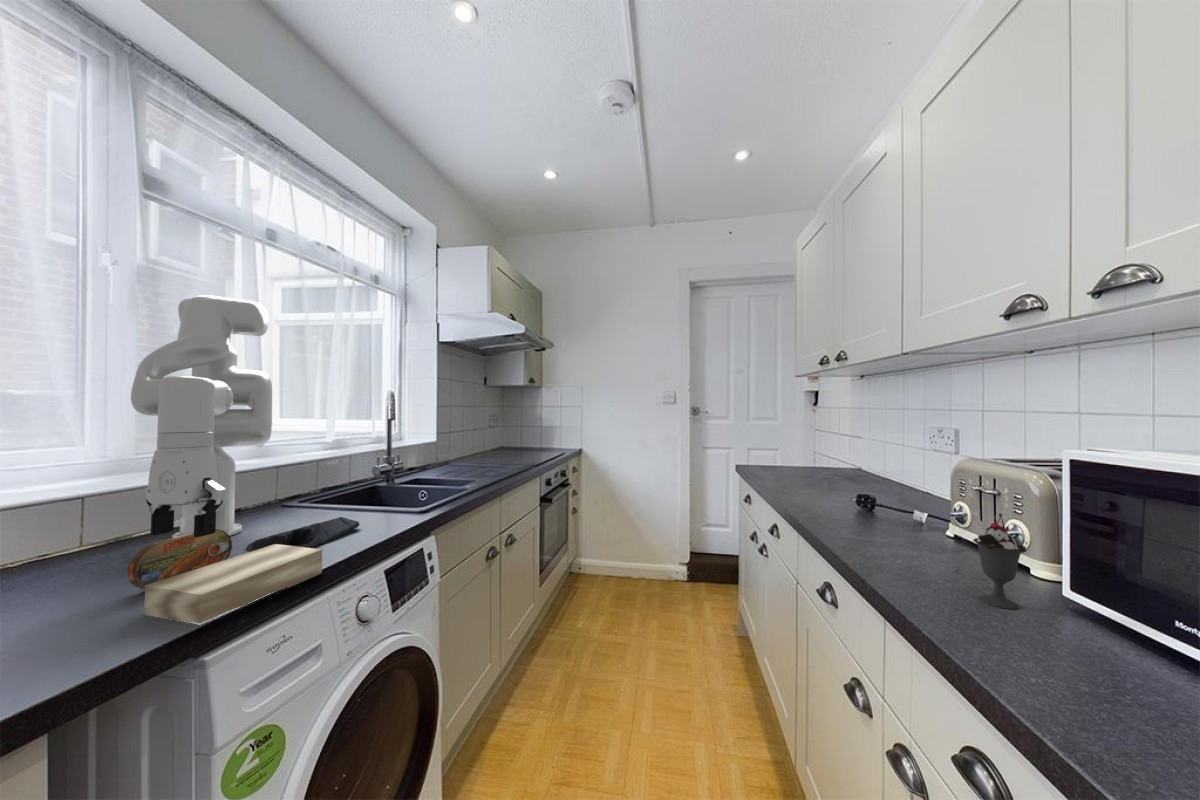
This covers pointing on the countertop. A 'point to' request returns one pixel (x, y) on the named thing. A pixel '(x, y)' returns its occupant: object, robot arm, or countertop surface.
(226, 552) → the tin
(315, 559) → the birch block
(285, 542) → the dark slate chunk
